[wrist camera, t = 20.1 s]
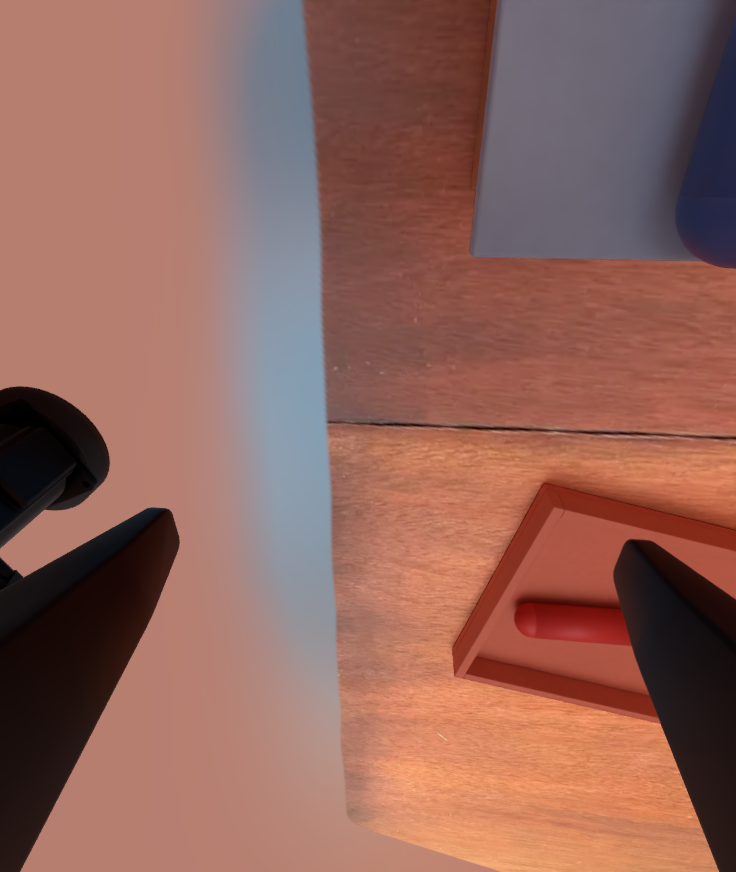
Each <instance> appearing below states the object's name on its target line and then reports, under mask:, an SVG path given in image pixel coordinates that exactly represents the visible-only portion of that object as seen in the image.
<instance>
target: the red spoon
mask: <svg viewBox="0 0 736 872" xmlns="http://www.w3.org/2000/svg"><path fill="white" fill-rule="evenodd" d="M514 622H515V625H516V627H517V629H518V630H519V631H520V632H521V633H522V634H523V635H525V636H527V637H530V638H538V639H551V640H563V641H575V642H587V643H599V644H611V645H624V646H631V642H630V639H629V635H628V631H627V628H626V624H625V621H624V617H623V613H622V610H621V609H613V608H600V607H587V606H573V605H560V604H547V603H534V602H526V603H523V604H521V605H520V606H518V608H517V609H516V611H515V613H514Z"/></svg>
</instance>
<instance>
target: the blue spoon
mask: <svg viewBox="0 0 736 872" xmlns="http://www.w3.org/2000/svg"><path fill="white" fill-rule="evenodd" d="M675 223H676V227H677V231H678V235H679V237H680V239H681V241H682V243H683V245H684V246H685V247H686V248H687V249H688V250H689V251H690V252H691V254H693V255H694V256H696V257H697V258H699V259H700V260H702V261H703V262H706V263H709V264H712V265H714V266H718V267H724V268H736V15H735V19H734V22H733V25H732V28H731V31H730V34H729V37H728V41H727V44H726V47H725V50H724V53H723V56H722V60H721V63H720V66H719V69H718V72H717V75H716V79H715V82H714V85H713V88H712V91H711V94H710V98H709V101H708V104H707V107H706V110H705V113H704V116H703V120H702V123H701V126H700V129H699V132H698V135H697V139H696V142H695V145H694V148H693V151H692V154H691V158H690V161H689V164H688V167H687V170H686V173H685V177H684V180H683V183H682V186H681V189H680V192H679V196H678V200H677V205H676V216H675Z"/></svg>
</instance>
